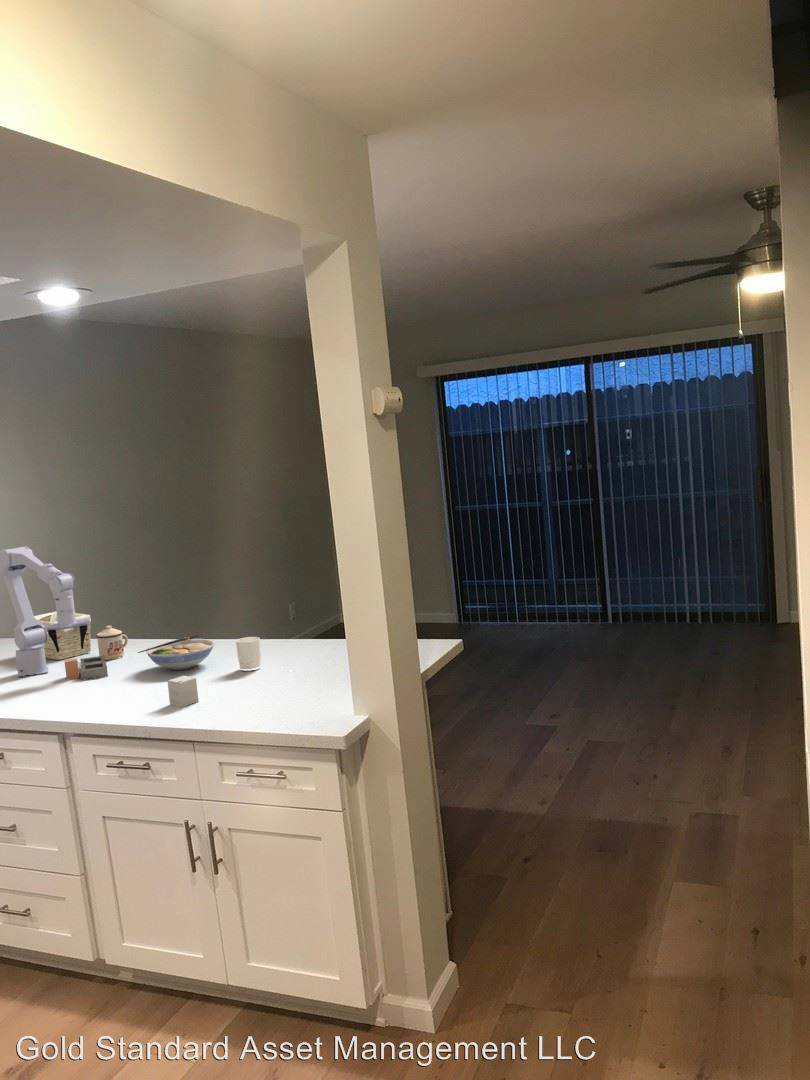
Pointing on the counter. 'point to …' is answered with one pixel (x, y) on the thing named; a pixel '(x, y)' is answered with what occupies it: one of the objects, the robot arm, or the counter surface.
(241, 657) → the white cup
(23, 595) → the robot arm
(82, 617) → the storage basket
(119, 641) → the teacup with lid
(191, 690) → the skincare box
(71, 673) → the orange brown block
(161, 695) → the counter surface
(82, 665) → the grey slotted board
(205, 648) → the ramen bowl
